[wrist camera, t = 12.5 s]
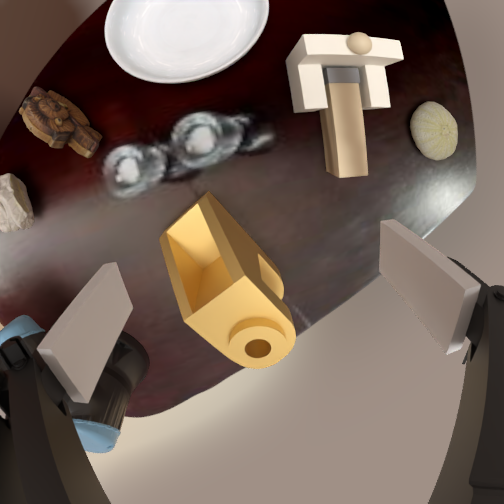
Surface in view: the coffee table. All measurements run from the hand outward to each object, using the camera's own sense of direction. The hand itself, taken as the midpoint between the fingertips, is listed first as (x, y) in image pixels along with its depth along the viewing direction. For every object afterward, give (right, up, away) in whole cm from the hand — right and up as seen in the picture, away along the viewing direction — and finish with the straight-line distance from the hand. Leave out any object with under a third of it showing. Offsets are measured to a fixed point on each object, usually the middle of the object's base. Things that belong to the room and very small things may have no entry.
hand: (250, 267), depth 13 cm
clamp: (-3, 0, +32) cm, 32 cm away
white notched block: (+11, +24, +21) cm, 34 cm away
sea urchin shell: (+29, +18, +25) cm, 42 cm away
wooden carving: (-27, +21, +21) cm, 41 cm away
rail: (+12, +19, +24) cm, 32 cm away
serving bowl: (-9, +33, +17) cm, 38 cm away
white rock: (-40, +11, +25) cm, 48 cm away
